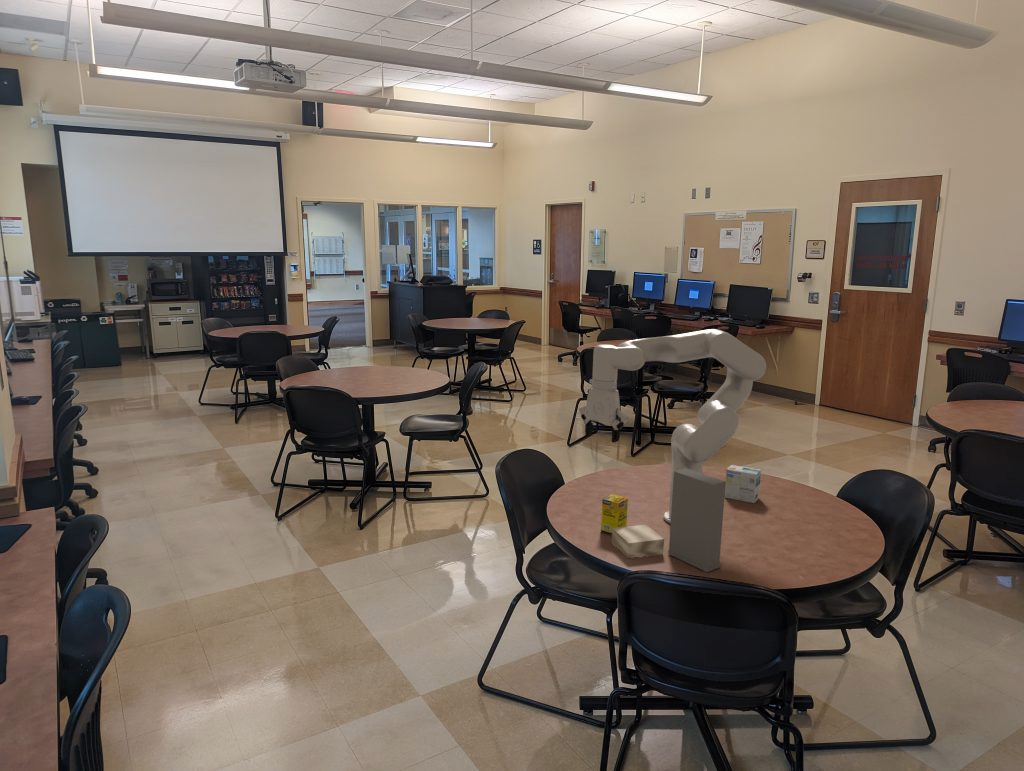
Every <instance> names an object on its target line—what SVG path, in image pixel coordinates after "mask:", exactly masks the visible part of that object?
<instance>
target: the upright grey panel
mask: <svg viewBox="0 0 1024 771" xmlns="http://www.w3.org/2000/svg"><path fill="white" fill-rule="evenodd" d="M725 484H726V480H723V479H720V478H718V477H714V476H711V475H709V474H704V473H703V472H702V473H699V472H696V471H693V470H690V469H687V468H685V469H681V470H677V471H674V478H673V494H672V510H671V524H670V526H669V527H670V530H669V542H668V543H669V544H668V546H669V548H668V552H667V553H668V554H667V555H669V556H672V557H674V558H676V559H678V560H681V561H682V562H684V563H685V564H686V563H687V564H688V565H691V566H692V567H695V568H698V569H699V570H701V571H703V572H705V573H708V572H711V571H714V570H716V569H719V568H722V562H721V561H720V558H721V550H722V549H721V547H722V545H721V544H722V536H723V534H722V533H723V521H724V520H723V519H724V509H725Z"/></svg>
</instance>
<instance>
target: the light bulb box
mask: <svg viewBox="0 0 1024 771" xmlns="http://www.w3.org/2000/svg"><path fill="white" fill-rule="evenodd" d="M761 476H762V470H761V469H760V468H752V467H746V466H742V465H741V466H740V465H734V464H731V465H730V466H728V467H727V468H726V471H725V481H726V484H725V497H724V499H726V498H727V499H731V500H736V501H739V502H746V503H751V504H755V503H756V502H757V501H758V500H759V499H760V492H761V490H760V489H761Z"/></svg>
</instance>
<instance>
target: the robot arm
mask: <svg viewBox="0 0 1024 771" xmlns="http://www.w3.org/2000/svg"><path fill="white" fill-rule="evenodd" d="M592 356H593V357H592V359H593V361H592V378H591V379H589V381H588V382H589V384H591V387H590V388H589V389H588V393H587V397H586V404H585V405H584V406H582V407H580V408H578V410H579V414H580V418H581V419H582V420H583V423H584V424H585V426H584V427H585V428H584V433H585V437H587V438H588V437H591V436H593V435H594V434H593V433H594V422H597V423H603V424H610V425H611V426H612V428H613V429H612V431H611V442H612V443H617V442H619V441H620V436H621V429H622V428H623V427H624V426H625V425H626V423H627V422H628V420H629V416H628V415H626V414H625V413H624V412H623V411H621V409H620V408H621V405H620V404H621V403H620V394H619V390H618V389H617V388H618V387H617V385H618V370H623V371H624V370H625V371H632V372H633V371H634V372H635V371H637V370H640V369H641V368H642V367H643V366H644V365H645V363H646V362H665V363H672V364H674V363H676V364H677V363H678V364H679V363H683V362H688V361H689V362H690V361H694V360H695V361H696V360H701V359H706V358H712V359H716V361H718V362H720V364H722V365H723V366H725V367H726V370H727V371H726V379H725V380H724V382H723V383H722V385H721V386H720V387H719V389H717V390H716V391H715V393H714V394H712V396H710V398H709V399H707V401H706V402H704V404H702V406H700V408H699V410H698V412H697V419H698V422H699V423H700V425H699V426H696V425H694V424H691V423H682V424H680V425H678V426H676V428H674V430H673V432H672V434H671V435H672V436H671V440H670V441H671V442H670V444H671V445H670V446H671V473H670V489H669V505H668V506H669V508H668V511H666V512H664V513H663V519H664V521H665V522H667V523H669V524H670V525H671V510H672V494H673V478H674V471H677V470H681V469H685V468H687V469H690V470H693V471H696V472H699V473H702V474H703V469H704V468H703V467H704V466H703V465H704V464H703V463H704V462H706V461H708V460H709V459H711V458H712V457H713V456H714V455H715V454H716V453H717V452H718V451H719V450H720V449H721V448H722V447H723V446H724V445H725V444H726V443H727V442H728V441H729V440H730V439H731V438H732V437H733V436H734V435H735V433H736V431H738V428H739V424H740V418H739V415H738V413H737V411H738V410H740V408H741V407H742V406H743V404H744V403H745V402H746V401H747V400H748V398H749V397H750V395H751V393H752V390H753V389H752V388H753V386H754V384H753V383H754V381H757V380H759V379H761V378H762V377H763V376H764V375H765V373H766V370H767V363H766V360H765V359H764V356H762V355H761V354H760V353H759V352H757V351H755V350H754V349H753V348H751V347H750V346H748V345H746V344H745V343H744V342H742V341H740V340H739V339H738V338H737V337H736V336H733V335H732V334H730V333H729V332H726V331H724V330H720V329H717V328H711V329H710V328H709V329H703V330H697V331H692V332H686V333H680V334H674V335H665V336H656V337H646V338H639V339H633V340H628V341H623V342H622V343H619V344H618V345H617V346H616V345H614V344H597V345H595V346H594V347H593V354H592ZM620 419H621V421H620ZM593 421H594V422H593Z"/></svg>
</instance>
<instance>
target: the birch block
mask: <svg viewBox="0 0 1024 771" xmlns="http://www.w3.org/2000/svg"><path fill="white" fill-rule="evenodd" d="M664 543H665V538H664V537H662V536H661V535H660V534H658V533H657V532H656V531H655V530H653V529H652V528H651V527H649V526H648V525H647V524H639V525H638V524H637V525H628V526H627V525H626V527H619V528H612V535H611V544H612V546H614V547H615V548H616V547H617V548H616V549H617V550H618V549H619V550H620V551H621V552H622V553H621V552H620V551H619V550H618V551H619V552H620V553H621V554H622V555H624V556H625V557H626V558H627V557H628V558H631V559H635V558H634V557H639V558H644V557H643V556H646V557H653V555H654V556H660V555H661V554H662V555H664V545H665V544H664ZM628 558H627V559H628Z"/></svg>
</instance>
